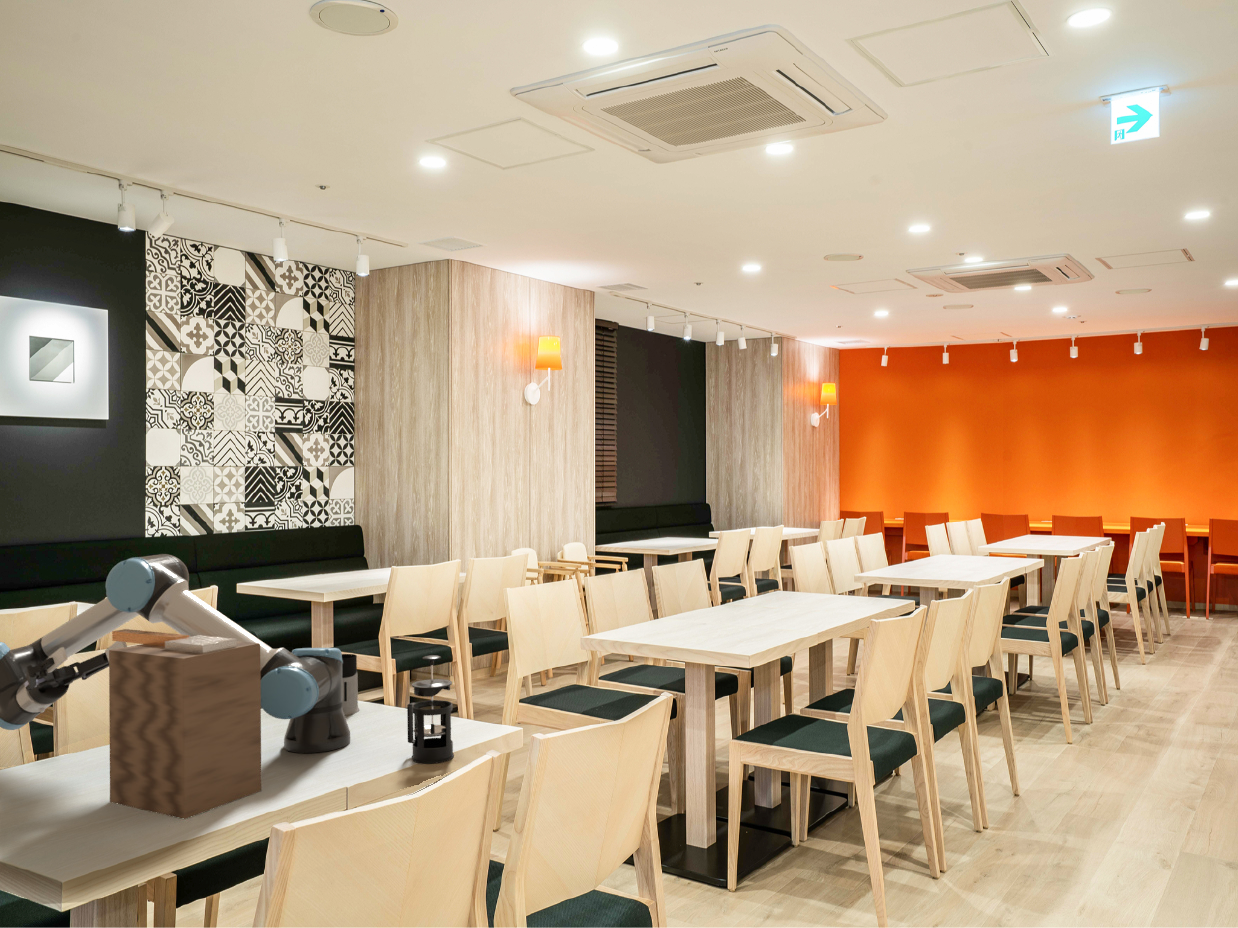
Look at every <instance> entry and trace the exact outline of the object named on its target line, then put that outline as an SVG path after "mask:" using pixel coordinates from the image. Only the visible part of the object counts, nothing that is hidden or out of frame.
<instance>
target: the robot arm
mask: <svg viewBox="0 0 1238 928" xmlns="http://www.w3.org/2000/svg"><path fill="white" fill-rule="evenodd" d="M189 581H190V574H189V570H188V567H187V565H186V564H185V563H184V562H183V561H182V560H181V559H180V558H178V557H176V556H174V555H171V554H168V553H159V554H153V555H146V556H145V555H144V556H139V557H138V556H137V557H136V556H135V557H130V558H127V559H125V560H121V561H120V562H118V563H117V564H116V565H114V566H113V567H112V569H111V570H110V571H109V573H108V575H107V576H106V581H105V590H106V592H105V594H106V597H105V598H103V599H102V600H101V601H99V602H97V603H96V604H94V605H92V606H90V607H89V608H88V609H85V610H84V611H83V612H81V613H79V614H78V615H75V617H73V618H71V619H69V620H68V621H66V622H65V623H62V624H61V625H60V626H58V627H56V628H55V629H53V630H51V631H49V632H48V633H46V634H45V635H43V636H42V637H40V638H38V639H37V640H35V641H34V642H31V643H30V644H27V645H23V646H21V647H16V648H13V649H11V647H9V646H8V645H7V643H5V642H2V641H0V728H1V729H3V730H6V731H7V730H8V731H15V730H18V729H21V728H23V727H24V726H27V724H28V723H31V722H33V720H34V719H35V718H36V717H37V716H39V715H40V714H41V713H44V712H45V711H46V709H47V708H49V707H51V705H53V704H54V703H56V702H57V701H58V700H60V699H61V698H62V697H63V696H64V695H66V694H67V692H68V690H69V687H70V684H72V683H73V682H75V681H77V680H79V679H81V680H82V681H85V680H87V679H89V678H90V677H92V676H94V675H95V674H97V673H99V672H101V671H103V670H105V669H107V668H109V650H112V649H118V648H124V647H128V644H127V642H120V641H114V643H112V644H111V645H109V646H108V647H106V649H105V650H104V652H102V653H100V654H98V655H96V656H93V657H90V658H88V659H86V660H84V661H82V662H78V661H76V662H73V663H72V664H71V663H70V664H69V665H64V666H61V665H62V664H64V663H65V662H66V661H67V660H68V658H70V657H72V656H73V655H75V654H76V653H78V652H79V651H81V650H83V649H85V648H87V647H88V646H90V645H91V644H93V643H95V642H97V641H98V640H101V638H104V637H105V636H106V635H108V634H110V633H112V631H116V630H117V629H118V628H121V626H123V625H125V624H126V623H128V622H130V621H132V620H133V619H135V618H136V617H138V616H140V617H142V618H144V619H145V620H147V621H148V622H149V623H151V624H158V623H164V624H165V625H167V627H169V628H171V629H172V630H174V631H175V632H177V634H182V635H189V636H191V637H193V636H198V635H201V636H212V637H222V638H233V639H237V641H242V642H253V643H260V675H261V710H263V711H264V712H265V713H266V714H268V715H269V716H271V717H273V718H275V719H279V720H289V722H288V725H287V728H286V731H285V734H284V738H283V748H284V750H286V751H287V752H292V753H298V754H299V753H301V754H310V753H311V754H313V753H323V752H329V751H334V750H339V749H341V748H344V747H346V746H347V745H349V744H350V743H351V730H350V728H349V724H348V722H347V719H346V715H344V713H343V708H342V664H343V660H342V654H343V653H342V651H341V649H340V648H338V647H302V648H295V649H292V650H291V651H289V650H288V649H286V648H285V647H279V648H272V647H271V646H270V645H268V644H267V643H265V642H263V641H262V640H261V639H259V638H258V637H256V636H255V635H254V634H252V633H251V632H249V631H248V630H247V629H245V628H244V627H242V626H241V625H240V624H238V623H236V622H235V621H233V620H232V619H230V618H229V617H228V616H226V615H224V614H223V613H222V612H220V611H219V610H217V609H216V608H215V607H213V606H212V605H210V604H209V603H208V602H206V601H204V600H203V599H201V598H200V597H198V595H196V594H194V593H192V592H191V591H190V589H189V588H190V587H189ZM60 666H61V667H60ZM75 667H76V669H77V670H76V669H75Z"/></svg>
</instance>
